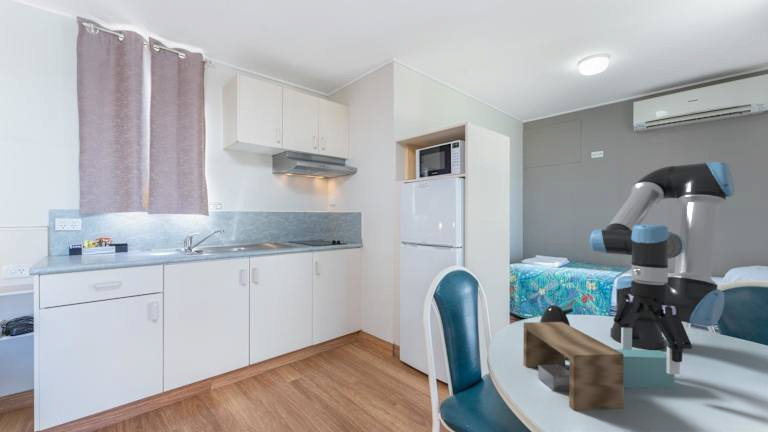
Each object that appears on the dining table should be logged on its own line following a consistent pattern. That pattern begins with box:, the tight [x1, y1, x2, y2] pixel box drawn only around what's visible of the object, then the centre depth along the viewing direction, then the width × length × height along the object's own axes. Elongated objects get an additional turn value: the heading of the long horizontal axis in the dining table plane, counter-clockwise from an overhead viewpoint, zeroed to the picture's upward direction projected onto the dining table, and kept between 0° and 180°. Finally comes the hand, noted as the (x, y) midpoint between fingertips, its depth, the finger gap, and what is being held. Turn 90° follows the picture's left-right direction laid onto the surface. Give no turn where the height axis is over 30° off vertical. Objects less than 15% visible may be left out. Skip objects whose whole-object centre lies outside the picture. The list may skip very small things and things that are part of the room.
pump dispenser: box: [539, 304, 574, 326], centre depth 102 cm, size 10×10×15 cm
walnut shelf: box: [523, 321, 624, 411], centre depth 83 cm, size 12×22×12 cm, turn 4°
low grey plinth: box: [537, 364, 569, 392], centre depth 82 cm, size 6×6×4 cm
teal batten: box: [615, 348, 675, 389], centre depth 84 cm, size 23×4×8 cm, turn 87°
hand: (647, 361), depth 84 cm, fingers open, 13 cm apart
